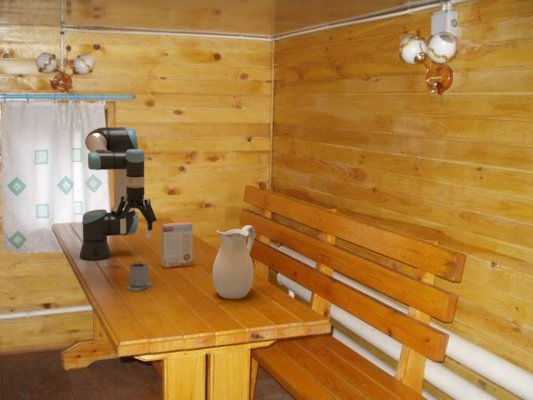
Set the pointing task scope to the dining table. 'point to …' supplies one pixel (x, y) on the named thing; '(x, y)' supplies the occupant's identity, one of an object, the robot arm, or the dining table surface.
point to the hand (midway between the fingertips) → (135, 235)
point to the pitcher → (234, 263)
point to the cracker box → (177, 244)
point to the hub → (138, 274)
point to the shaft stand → (138, 288)
